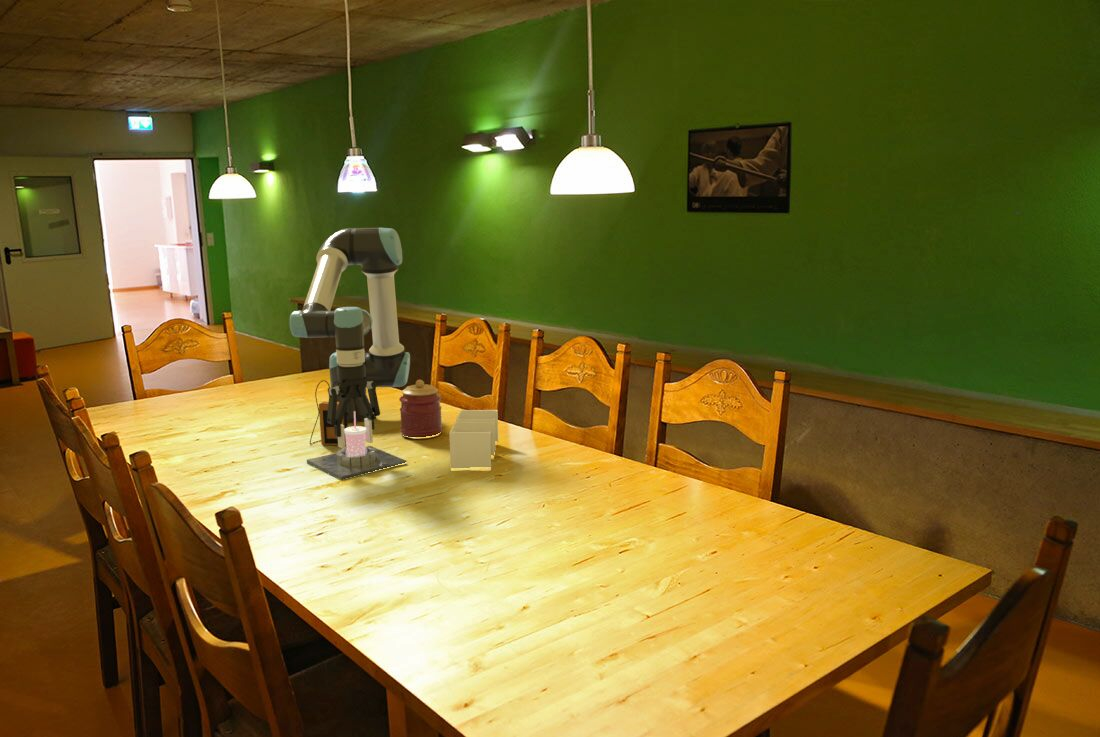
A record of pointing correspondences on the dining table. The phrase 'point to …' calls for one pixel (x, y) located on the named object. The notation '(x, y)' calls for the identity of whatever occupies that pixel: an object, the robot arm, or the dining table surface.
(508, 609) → the dining table surface
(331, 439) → the multimeter
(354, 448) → the beverage cup
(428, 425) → the canister
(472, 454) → the desk organizer
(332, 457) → the cup holder
